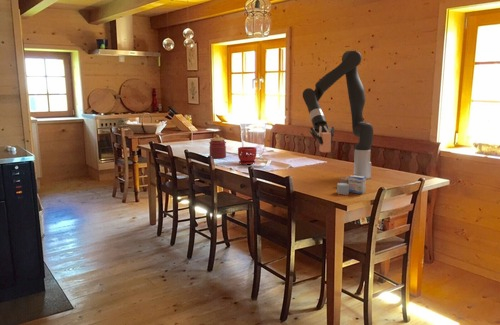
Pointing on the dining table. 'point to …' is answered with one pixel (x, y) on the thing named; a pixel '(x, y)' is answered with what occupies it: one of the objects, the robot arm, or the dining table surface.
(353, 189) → the medicine box
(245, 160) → the plant pot
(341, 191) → the slate blue cube
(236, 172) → the dining table surface
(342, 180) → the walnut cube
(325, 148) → the terracotta block
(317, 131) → the robot arm
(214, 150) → the canister
